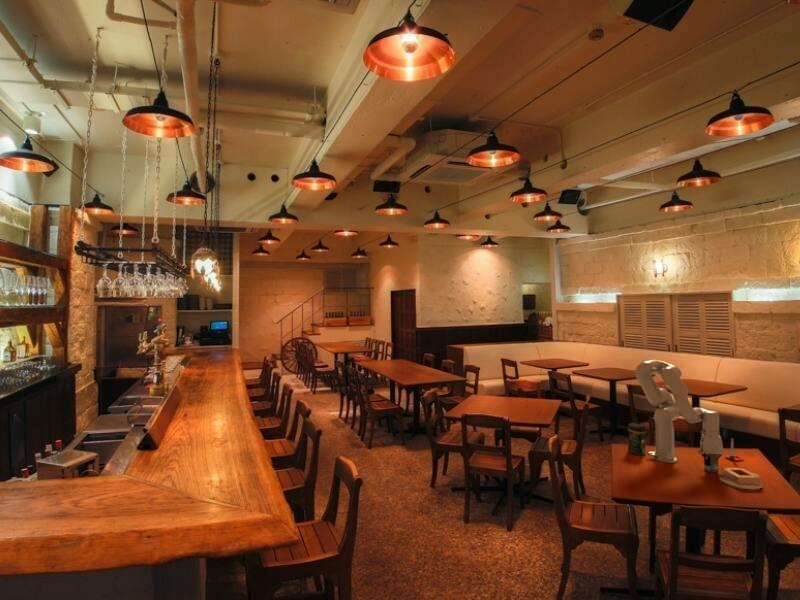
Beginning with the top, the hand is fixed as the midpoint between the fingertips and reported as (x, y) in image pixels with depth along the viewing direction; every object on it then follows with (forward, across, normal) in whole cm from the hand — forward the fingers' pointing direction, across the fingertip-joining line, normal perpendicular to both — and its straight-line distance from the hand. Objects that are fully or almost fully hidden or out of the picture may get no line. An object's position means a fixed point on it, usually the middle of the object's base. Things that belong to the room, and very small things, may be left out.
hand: (711, 465), depth 254 cm
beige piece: (+3, +5, -16) cm, 17 cm away
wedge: (+3, 0, 0) cm, 3 cm away
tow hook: (+4, +26, +20) cm, 33 cm away
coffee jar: (+4, -28, +28) cm, 40 cm away
